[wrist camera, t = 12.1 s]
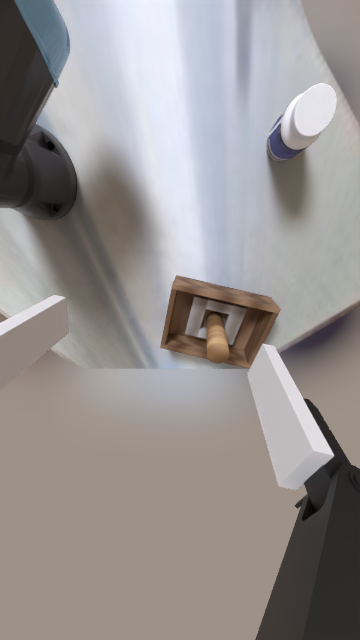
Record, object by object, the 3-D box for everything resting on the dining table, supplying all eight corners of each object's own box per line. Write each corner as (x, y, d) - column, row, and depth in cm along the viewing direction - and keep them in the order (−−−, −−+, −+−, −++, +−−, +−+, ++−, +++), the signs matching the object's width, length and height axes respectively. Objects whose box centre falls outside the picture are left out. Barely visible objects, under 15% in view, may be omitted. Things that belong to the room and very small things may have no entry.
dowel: (208, 309, 46) (210, 342, 34) (224, 313, 46) (232, 348, 34) (204, 323, 48) (204, 360, 36) (219, 327, 48) (225, 365, 36)
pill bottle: (295, 163, 33) (328, 144, 24) (261, 160, 33) (282, 140, 25) (309, 117, 30) (351, 77, 22) (272, 115, 31) (299, 74, 22)
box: (164, 333, 52) (160, 347, 46) (176, 275, 44) (172, 283, 39) (245, 352, 52) (250, 368, 46) (270, 297, 44) (280, 309, 39)
